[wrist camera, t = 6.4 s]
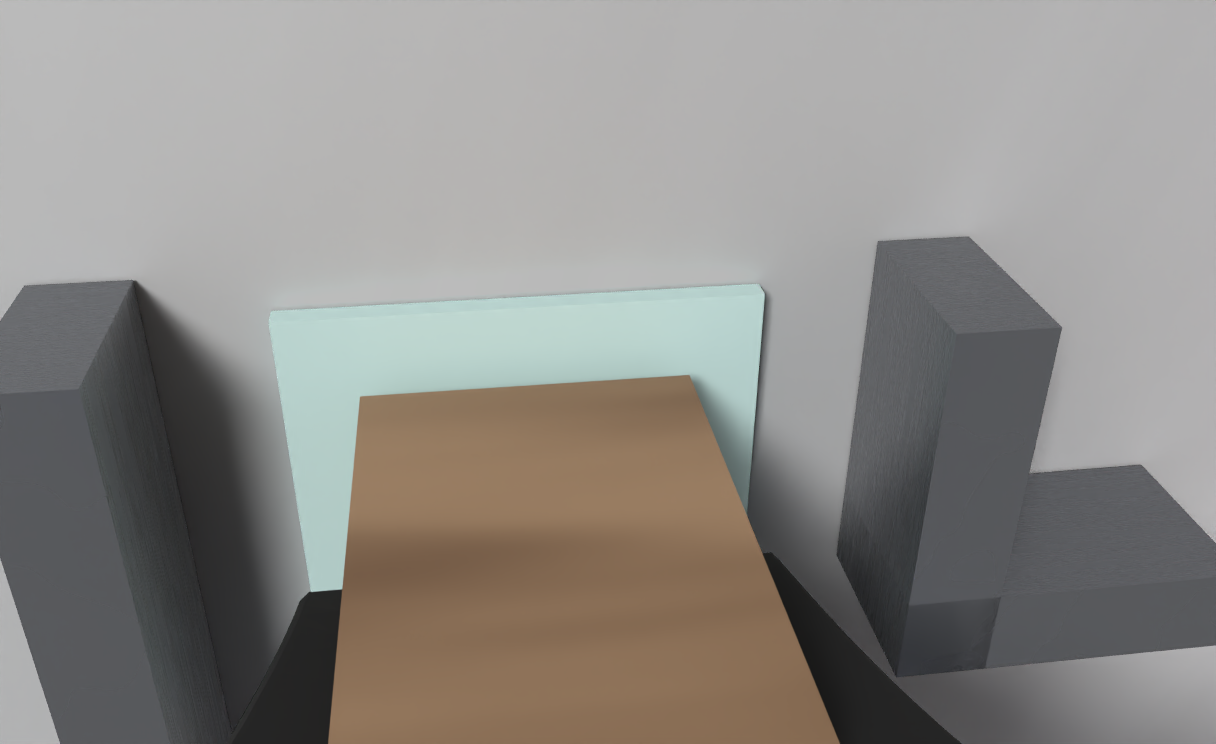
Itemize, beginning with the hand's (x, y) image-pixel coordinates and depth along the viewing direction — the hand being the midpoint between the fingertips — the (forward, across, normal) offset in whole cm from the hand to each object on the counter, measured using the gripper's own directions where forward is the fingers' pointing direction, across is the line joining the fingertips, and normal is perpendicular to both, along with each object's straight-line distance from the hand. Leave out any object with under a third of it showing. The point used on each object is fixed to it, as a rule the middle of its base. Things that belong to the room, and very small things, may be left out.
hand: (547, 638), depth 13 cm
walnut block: (+2, 0, 0) cm, 2 cm away
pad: (+3, 0, 0) cm, 3 cm away
